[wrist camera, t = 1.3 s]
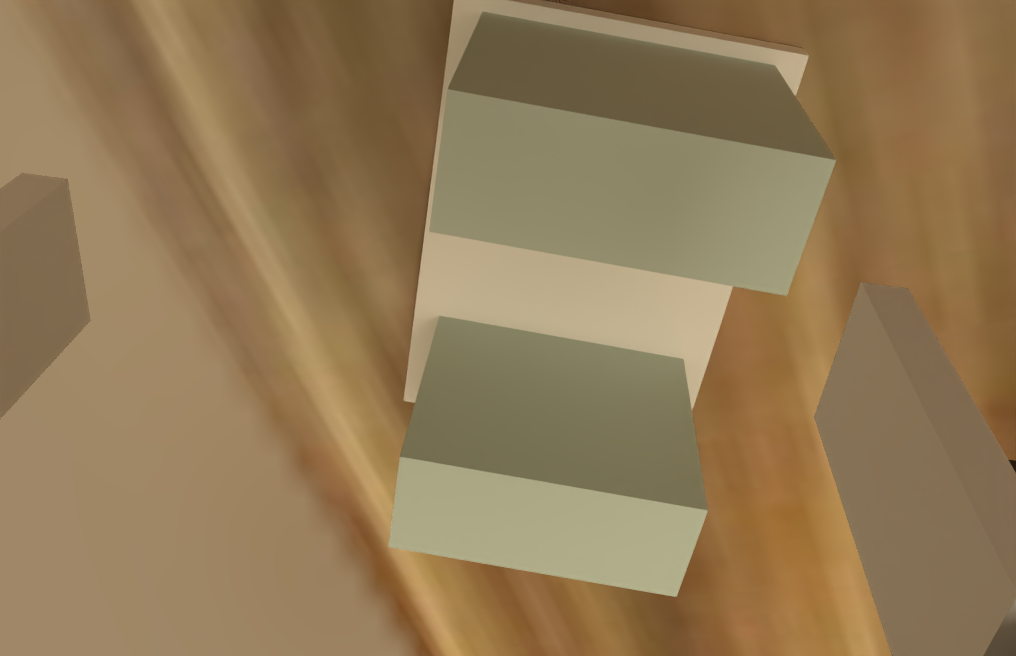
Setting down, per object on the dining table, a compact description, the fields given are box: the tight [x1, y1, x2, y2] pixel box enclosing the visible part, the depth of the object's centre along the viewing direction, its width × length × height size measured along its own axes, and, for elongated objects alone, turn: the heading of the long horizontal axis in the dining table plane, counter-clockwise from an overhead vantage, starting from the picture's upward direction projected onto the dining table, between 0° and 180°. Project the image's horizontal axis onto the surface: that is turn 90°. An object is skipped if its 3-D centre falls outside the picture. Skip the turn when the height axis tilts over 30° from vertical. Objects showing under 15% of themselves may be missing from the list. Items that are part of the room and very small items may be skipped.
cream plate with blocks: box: [389, 0, 836, 597], centre depth 32 cm, size 17×12×10 cm
